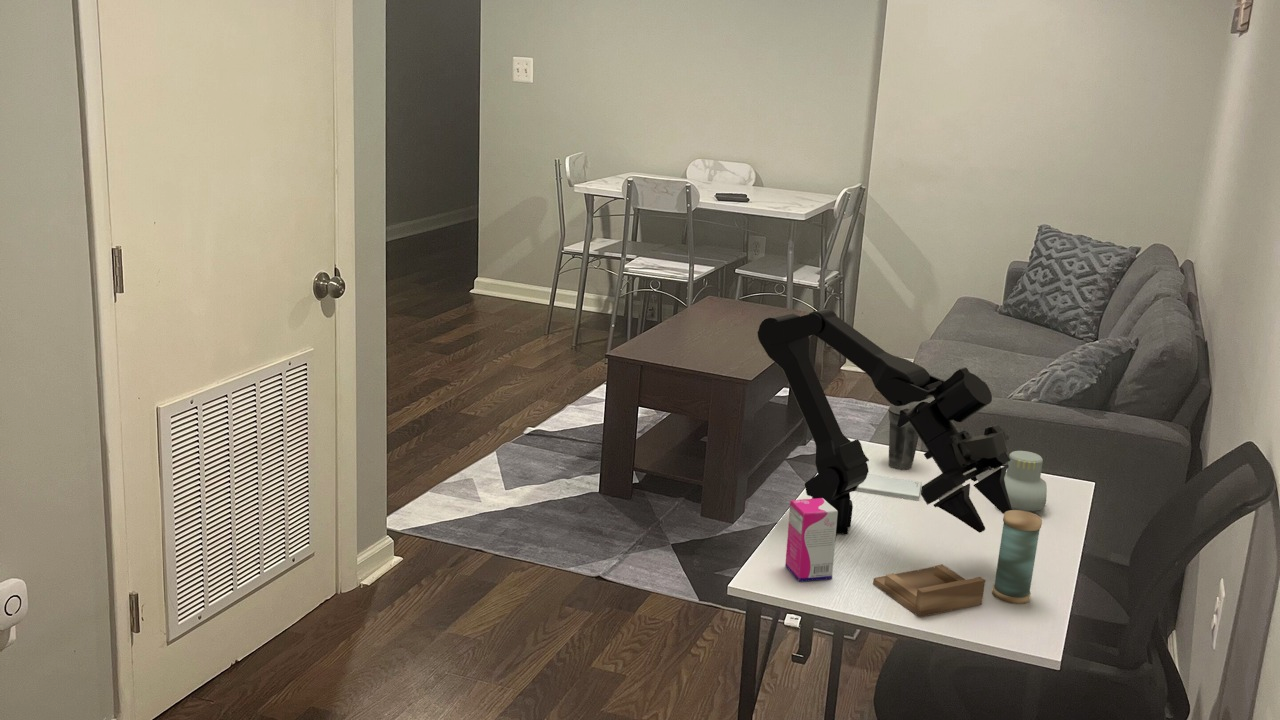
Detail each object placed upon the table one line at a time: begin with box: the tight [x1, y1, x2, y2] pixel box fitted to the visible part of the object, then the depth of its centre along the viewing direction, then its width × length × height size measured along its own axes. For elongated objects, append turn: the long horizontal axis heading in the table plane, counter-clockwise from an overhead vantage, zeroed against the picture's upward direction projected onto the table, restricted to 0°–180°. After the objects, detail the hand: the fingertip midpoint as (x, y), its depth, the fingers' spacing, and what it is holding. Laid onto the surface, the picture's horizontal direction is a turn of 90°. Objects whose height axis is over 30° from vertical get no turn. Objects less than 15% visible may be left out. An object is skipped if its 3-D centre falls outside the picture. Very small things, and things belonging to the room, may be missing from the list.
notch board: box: [872, 564, 986, 618], centre depth 169 cm, size 11×12×4 cm
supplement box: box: [785, 498, 838, 583], centre depth 173 cm, size 6×6×12 cm
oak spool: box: [991, 510, 1043, 605], centre depth 169 cm, size 6×6×13 cm
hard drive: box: [855, 473, 922, 502], centre depth 211 cm, size 2×8×12 cm
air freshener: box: [1004, 450, 1048, 513], centre depth 205 cm, size 11×8×10 cm
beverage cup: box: [887, 400, 924, 471], centre depth 221 cm, size 7×7×20 cm
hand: (996, 523), depth 170 cm, fingers open, 9 cm apart
